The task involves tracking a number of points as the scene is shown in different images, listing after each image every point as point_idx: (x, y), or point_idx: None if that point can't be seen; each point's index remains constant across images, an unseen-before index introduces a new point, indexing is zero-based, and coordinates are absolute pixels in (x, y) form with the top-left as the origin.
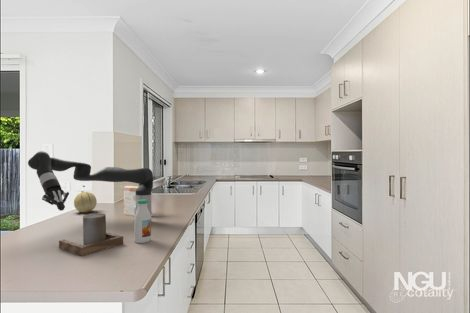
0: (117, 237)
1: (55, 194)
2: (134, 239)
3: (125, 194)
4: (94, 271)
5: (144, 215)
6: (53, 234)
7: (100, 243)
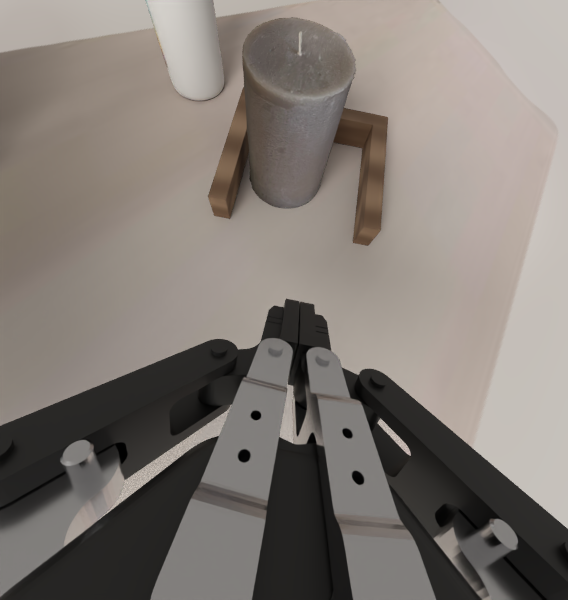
0: None
1: (347, 483)
2: (217, 87)
3: None
4: (418, 66)
5: None
6: None
7: None
